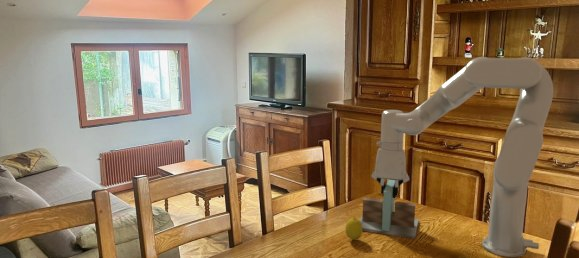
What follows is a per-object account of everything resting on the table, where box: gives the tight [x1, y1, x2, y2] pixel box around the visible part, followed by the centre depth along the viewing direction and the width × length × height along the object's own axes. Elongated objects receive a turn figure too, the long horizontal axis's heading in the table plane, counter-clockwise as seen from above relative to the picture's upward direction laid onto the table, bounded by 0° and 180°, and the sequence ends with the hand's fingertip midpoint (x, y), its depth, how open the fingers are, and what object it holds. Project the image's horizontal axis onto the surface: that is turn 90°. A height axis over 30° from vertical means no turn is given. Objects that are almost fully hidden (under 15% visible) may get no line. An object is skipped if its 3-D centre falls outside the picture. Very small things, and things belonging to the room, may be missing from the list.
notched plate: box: [382, 179, 396, 231], centre depth 153 cm, size 14×2×14 cm, turn 160°
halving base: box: [358, 197, 419, 239], centre depth 154 cm, size 20×15×9 cm
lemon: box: [345, 217, 363, 241], centre depth 142 cm, size 6×6×8 cm
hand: (389, 195), depth 153 cm, fingers open, 3 cm apart
